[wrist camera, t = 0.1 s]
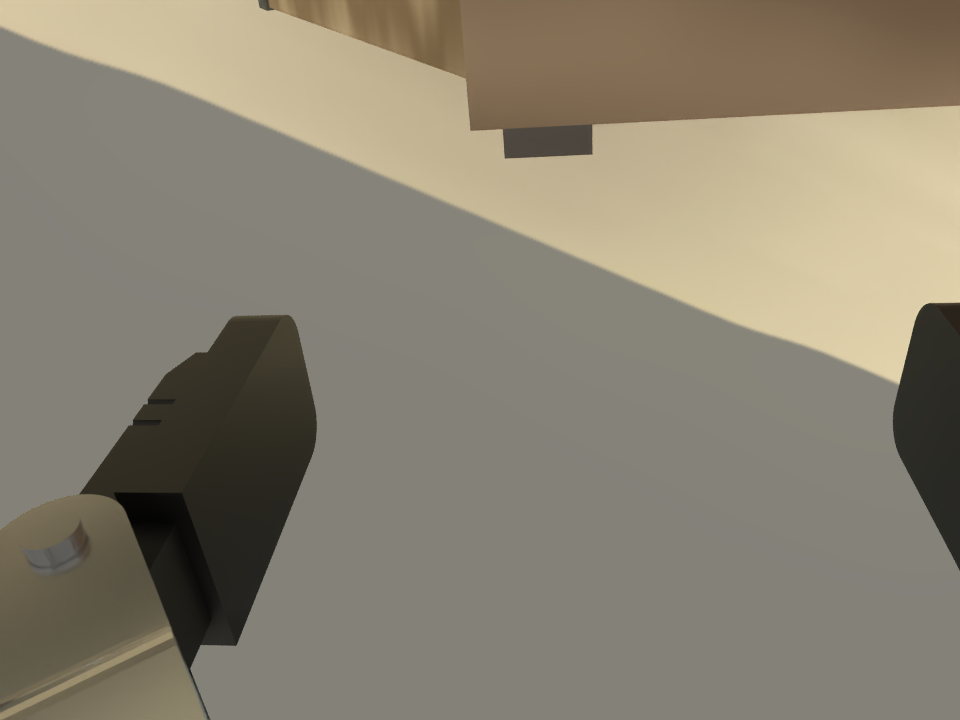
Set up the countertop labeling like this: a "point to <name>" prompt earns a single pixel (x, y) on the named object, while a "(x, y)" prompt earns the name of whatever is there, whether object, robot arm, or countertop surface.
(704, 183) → the countertop surface
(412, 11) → the oak leg
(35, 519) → the robot arm
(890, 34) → the walnut stool
